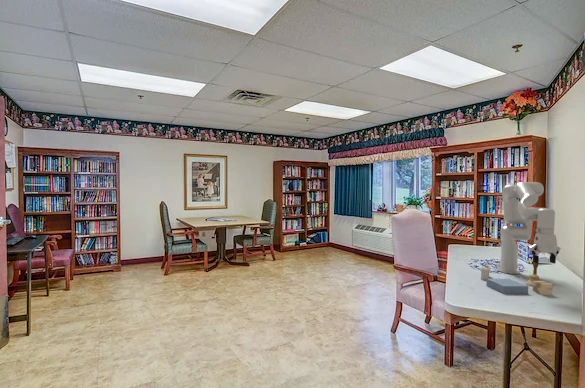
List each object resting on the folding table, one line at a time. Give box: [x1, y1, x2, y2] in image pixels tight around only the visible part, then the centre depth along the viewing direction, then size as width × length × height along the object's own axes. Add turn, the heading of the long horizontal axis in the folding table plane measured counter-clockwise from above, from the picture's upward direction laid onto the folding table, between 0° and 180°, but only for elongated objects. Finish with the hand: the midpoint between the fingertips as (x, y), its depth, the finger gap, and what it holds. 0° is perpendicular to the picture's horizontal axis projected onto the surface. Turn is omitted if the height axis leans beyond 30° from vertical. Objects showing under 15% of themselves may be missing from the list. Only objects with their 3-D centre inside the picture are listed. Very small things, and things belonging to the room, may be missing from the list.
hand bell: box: [525, 261, 541, 287], centre depth 193 cm, size 8×8×16 cm
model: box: [480, 264, 491, 281], centre depth 206 cm, size 3×11×8 cm, turn 143°
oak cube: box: [532, 280, 554, 296], centre depth 178 cm, size 6×6×6 cm
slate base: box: [486, 278, 529, 294], centre depth 183 cm, size 14×14×4 cm
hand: (544, 262), depth 177 cm, fingers open, 9 cm apart
